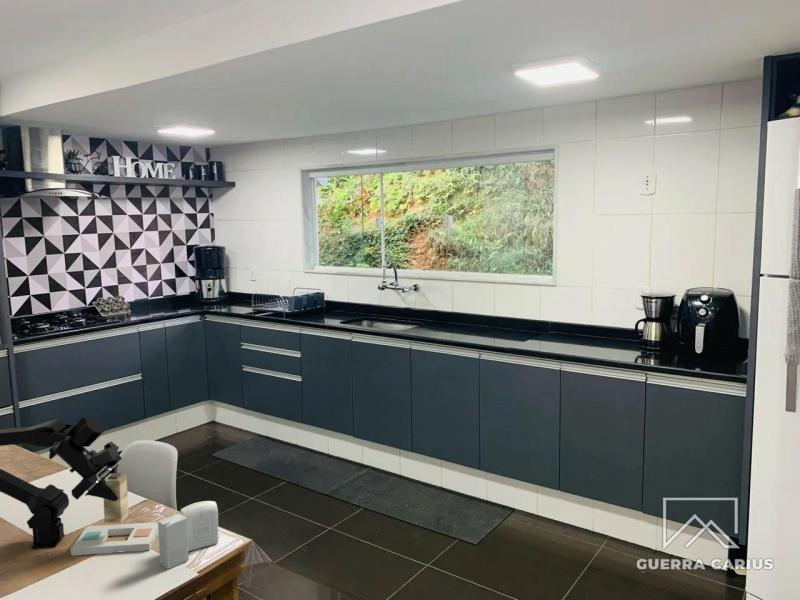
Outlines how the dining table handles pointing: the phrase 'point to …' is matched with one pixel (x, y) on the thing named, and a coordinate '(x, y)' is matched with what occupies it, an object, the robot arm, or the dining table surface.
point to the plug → (118, 508)
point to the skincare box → (173, 541)
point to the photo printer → (201, 524)
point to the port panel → (97, 535)
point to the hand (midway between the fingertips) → (120, 496)
